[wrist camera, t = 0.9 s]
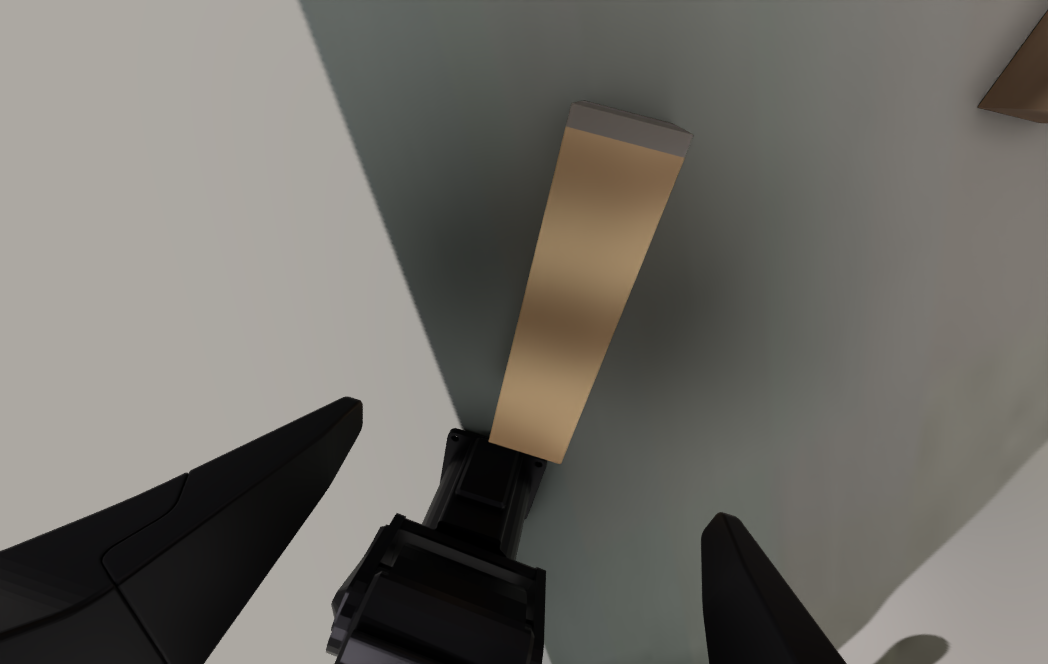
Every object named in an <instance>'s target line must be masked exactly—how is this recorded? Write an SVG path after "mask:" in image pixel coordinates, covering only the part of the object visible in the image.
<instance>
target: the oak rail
mask: <svg viewBox="0 0 1048 664" xmlns="http://www.w3.org/2000/svg"><path fill="white" fill-rule="evenodd" d="M693 136H694V135H693V134H691V133H689V132H687V131H686V130H684V129H682V128H680V127H678V126H676V125H674V124H672V123H669V122H665V121H661V120H657V119H653V118H649V117H646V116H642V115H638V114H634V113H630V112H626V111H623V110H619V109H615V108H611V107H607V106H603V105H600V104H596V103H592V102H588V101H579V102H574V103H571V107H570V111H569V115H568V119H567V124H566V128H565V132H564V136H563V140H562V144H561V148H560V152H559V156H558V160H557V164H556V168H555V172H554V177H553V181H552V185H551V189H550V193H549V197H548V201H547V205H546V209H545V213H544V217H543V221H542V226H541V230H540V234H539V238H538V242H537V246H536V250H535V254H534V258H533V262H532V266H531V270H530V275H529V279H528V283H527V287H526V291H525V295H524V299H523V303H522V307H521V311H520V315H519V319H518V323H517V328H516V332H515V336H514V340H513V344H512V348H511V352H510V356H509V360H508V364H507V368H506V372H505V377H504V381H503V385H502V389H501V393H500V397H499V401H498V405H497V409H496V413H495V417H494V421H493V426H492V430H491V434H490V438H489V442H491V443H494V444H497V445H500V446H504V447H507V448H510V449H513V450H516V451H520V452H523V453H526V454H529V455H532V456H536V457H539V458H542V459H545V460H548V461H552V462H555V463H558V464H561V462H562V460H563V457H564V455H565V452H566V450H567V447H568V445H569V442H570V440H571V438H572V435H573V433H574V430H575V428H576V425H577V423H578V420H579V418H580V415H581V413H582V410H583V408H584V405H585V403H586V401H587V398H588V396H589V393H590V391H591V388H592V386H593V383H594V381H595V378H596V376H597V373H598V371H599V368H600V366H601V363H602V361H603V359H604V356H605V354H606V351H607V349H608V346H609V344H610V341H611V339H612V336H613V334H614V331H615V329H616V326H617V324H618V321H619V319H620V317H621V314H622V312H623V309H624V307H625V304H626V302H627V299H628V297H629V294H630V292H631V289H632V287H633V284H634V282H635V280H636V277H637V275H638V272H639V270H640V267H641V265H642V262H643V260H644V257H645V255H646V252H647V250H648V247H649V245H650V242H651V240H652V238H653V235H654V233H655V230H656V228H657V225H658V223H659V220H660V218H661V215H662V213H663V210H664V208H665V205H666V203H667V201H668V198H669V196H670V193H671V191H672V188H673V186H674V183H675V181H676V178H677V176H678V173H679V171H680V168H681V166H682V163H683V161H684V159H685V156H686V154H687V151H688V149H689V146H690V144H691V141H692V139H693Z"/></svg>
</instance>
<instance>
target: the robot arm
mask: <svg viewBox="0 0 1048 664" xmlns="http://www.w3.org/2000/svg"><path fill="white" fill-rule="evenodd" d="M362 405H363V404H362V402H361V401H360V400H358V399H354V398H351V397H343V398H341V399H338V400H336V401H334V402H332V403H330V404H328V405H326V406H324V407H322V408H320V409H318V410H316V411H314V412H312V413H309V414H307V415H305V416H303V417H301V418H299V419H297V420H295V421H293V422H291V423H289V424H287V425H284V426H282V427H280V428H278V429H276V430H274V431H272V432H270V433H268V434H266V435H263V436H261V437H259V438H257V439H255V440H253V441H251V442H249V443H247V444H245V445H243V446H240V447H239V448H236V449H234V450H232V451H230V452H228V453H226V454H224V455H222V456H220V457H217V458H215V459H213V460H211V461H209V462H207V463H205V464H203V465H201V466H199V467H197V468H195V469H193V470H191V471H190V472H189V473H184V474H182V475H180V476H178V477H175V478H173V479H171V480H169V481H167V482H165V483H163V484H161V485H158V486H156V487H154V488H152V489H150V490H148V491H146V492H143V493H141V494H139V495H137V496H134V497H132V498H130V499H127V500H125V501H123V502H120V503H118V504H116V505H113V506H111V507H108V508H106V509H104V510H101V511H99V512H96V513H94V514H92V515H89V516H87V517H84V518H82V519H79V520H77V521H74V522H72V523H69V524H67V525H65V526H62V527H59V528H57V529H54V530H52V531H49V532H47V533H45V534H42V535H40V536H37V537H35V538H32V539H30V540H27V541H25V542H22V543H20V544H17V545H15V546H13V547H10V548H8V549H5V550H2V551H0V664H204V663H205V661H206V660H207V658H208V657H209V656H210V654H211V653H212V652H213V650H214V649H215V647H216V646H217V644H218V643H219V642H220V640H221V639H222V637H223V636H224V635H225V633H226V631H227V630H228V629H229V628H230V626H231V625H232V623H233V622H234V621H235V619H236V618H237V616H238V615H239V614H240V612H241V611H242V609H243V608H244V606H245V605H246V604H247V602H248V601H249V599H250V598H251V597H252V595H253V594H254V592H255V591H256V590H257V588H258V587H259V585H260V584H261V583H262V581H263V580H264V578H265V577H266V576H267V574H268V573H269V571H270V570H271V568H272V567H273V566H274V564H275V563H276V561H277V560H278V558H279V557H280V556H281V554H282V553H283V551H284V550H285V549H286V547H287V546H288V544H289V543H290V542H291V540H292V539H293V538H294V536H295V535H296V533H297V532H298V530H299V529H300V528H301V526H302V525H303V523H304V522H305V520H306V519H307V518H308V516H309V515H310V514H311V512H312V511H313V509H314V508H315V507H316V505H317V504H318V502H319V501H320V500H321V498H322V497H323V495H324V494H325V492H326V491H327V489H328V488H329V486H330V485H331V483H332V481H333V480H334V478H335V476H336V474H337V472H338V471H339V469H340V467H341V465H342V464H343V462H344V460H345V458H346V456H347V455H348V453H349V451H350V449H351V448H352V446H353V444H354V442H355V440H356V439H357V437H358V435H359V433H360V431H361V429H362V424H363V420H362V419H363V406H362ZM456 436H457V437H456ZM540 462H541V463H540ZM546 465H547V460H545V459H542V458H539V457H536V456H532V455H529V454H526V453H523V452H520V451H516V450H513V449H510V448H507V447H504V446H500V445H497V444H494V443H491V442H489V438H486V437H483V436H480V435H477V434H474V433H470V432H467V431H464V430H461V429H457V428H454V429H451V430H450V433H449V434H448V438H447V443H446V449H445V456H444V462H443V468H442V474H441V480H440V485H439V487H438V490H437V492H436V494H435V496H434V498H433V501H432V503H431V505H430V507H429V510H428V512H427V514H426V516H425V519H424V521H423V523H422V524H419V523H417V522H414V521H411V520H409V519H406V516H404V515H401V514H398V513H397V514H396V515H395V517H394V518H393V520H392V522H391V523H390V525H386V526H383V527H380V529H379V531H378V533H377V534H376V536H375V538H374V540H373V542H372V543H371V545H370V547H369V549H368V551H367V552H366V554H365V555H364V557H363V558H362V560H361V561H360V563H359V564H358V565H357V566H356V568H355V569H354V570H353V572H352V573H351V574H350V576H349V577H348V578H347V579H346V581H345V582H344V583H343V585H342V586H341V587H340V589H339V590H338V591H337V593H336V595H335V597H334V599H333V601H332V604H331V605H332V609H333V614H334V622H333V625H332V628H331V631H332V633H331V635H330V638H329V641H328V644H327V648H326V652H327V653H329V654H331V655H334V656H337V659H336V661H335V664H542V657H543V648H544V624H545V588H546V570H543V569H541V568H538V567H536V568H533V567H530V566H528V565H525V564H523V563H520V562H517V561H515V560H516V555H517V551H518V546H519V542H520V537H521V532H522V528H523V523H524V519H526V518H527V516H528V514H529V511H530V508H531V506H532V503H533V500H534V498H535V495H536V492H537V490H538V487H539V484H540V482H541V479H542V476H543V474H544V471H545V468H546ZM701 562H702V604H703V616H704V624H705V633H706V641H707V649H708V657H709V664H846V662H845V661H844V659H843V658H842V657H841V656H840V654H839V653H838V651H837V650H836V649H835V647H834V646H833V645H832V643H831V642H830V641H829V639H828V638H827V637H826V635H825V634H824V633H823V631H822V630H821V628H820V627H819V626H818V624H817V623H816V622H815V620H814V619H813V618H812V616H811V615H810V614H809V612H808V611H807V610H806V608H805V607H804V606H803V604H802V603H801V602H800V600H799V599H798V597H797V596H796V595H795V593H794V592H793V591H792V589H791V588H790V587H789V585H788V584H787V583H786V581H785V580H784V579H783V577H782V576H781V575H780V573H779V572H778V571H777V569H776V568H775V566H774V565H773V564H772V562H771V561H770V560H769V558H768V557H767V556H766V554H765V553H764V552H763V550H762V549H761V548H760V546H759V545H758V544H757V542H756V541H755V540H754V538H753V537H752V535H751V534H750V533H749V531H748V530H747V529H746V527H745V526H744V525H743V523H742V522H741V521H740V520H739V519H738V518H737V517H735V516H733V515H729V514H726V513H723V512H720V513H717V514H716V515H715V517H714V518H713V519H712V520H711V522H710V523H709V524H708V525H707V527H706V528H705V529H704V531H703V533H702V537H701Z"/></svg>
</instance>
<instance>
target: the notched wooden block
mask: <svg viewBox="0 0 1048 664" xmlns="http://www.w3.org/2000/svg"><path fill="white" fill-rule="evenodd" d="M978 108H982V109H986V110H990V111H994V112H998V113H1002V114H1006V115H1010V116H1014V117H1018V118H1022V119H1026V120H1030V121H1034V122H1038V123H1048V11H1047V12H1046V14H1045V15H1044V17H1043V18H1042V19H1041V21H1040V22H1039V23H1038V25H1037V26H1036V28H1035V29H1034V30H1033V32H1032V33H1031V34H1030V36H1029V37H1028V39H1027V40H1026V41H1025V43H1024V44H1023V45H1022V47H1021V48H1020V50H1019V51H1018V52H1017V54H1016V55H1015V56H1014V58H1013V59H1012V61H1011V62H1010V63H1009V65H1008V66H1007V67H1006V69H1005V70H1004V72H1003V73H1002V74H1001V76H1000V77H999V78H998V80H997V81H996V83H995V84H994V85H993V87H992V88H991V89H990V91H989V92H988V94H987V95H986V96H985V98H984V99H983V100H982V102H981V103H980V105H979V106H978Z"/></svg>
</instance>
